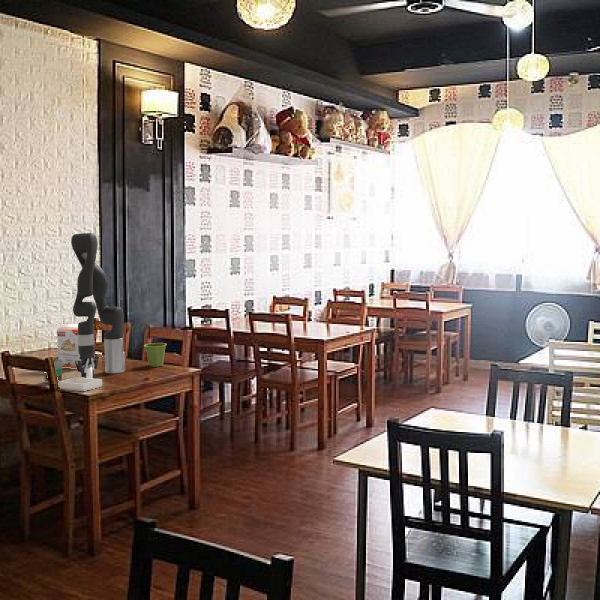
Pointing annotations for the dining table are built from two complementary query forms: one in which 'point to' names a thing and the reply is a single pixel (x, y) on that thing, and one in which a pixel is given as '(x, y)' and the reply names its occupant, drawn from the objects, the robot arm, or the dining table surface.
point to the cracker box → (68, 346)
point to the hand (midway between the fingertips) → (87, 379)
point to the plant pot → (155, 353)
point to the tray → (80, 383)
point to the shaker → (89, 371)
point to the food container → (58, 367)
